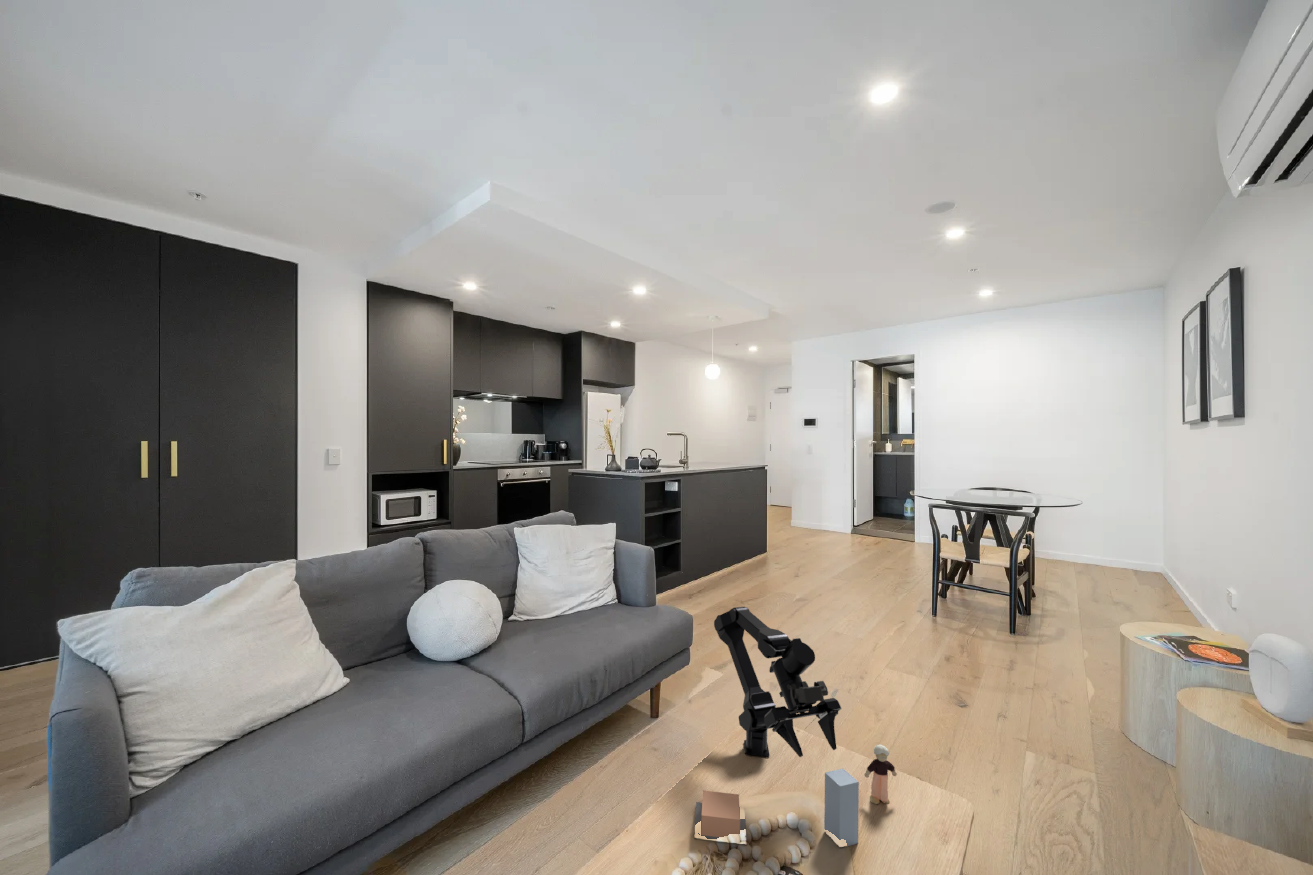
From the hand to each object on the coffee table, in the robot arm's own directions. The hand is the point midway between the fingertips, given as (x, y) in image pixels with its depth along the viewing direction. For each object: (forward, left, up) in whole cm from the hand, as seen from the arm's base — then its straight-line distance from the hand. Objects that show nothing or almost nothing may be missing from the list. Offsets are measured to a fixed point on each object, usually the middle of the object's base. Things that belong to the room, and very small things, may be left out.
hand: (818, 752), depth 114 cm
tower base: (+8, -22, -13) cm, 27 cm away
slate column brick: (+7, +3, -13) cm, 15 cm away
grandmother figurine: (-7, +16, -13) cm, 22 cm away
